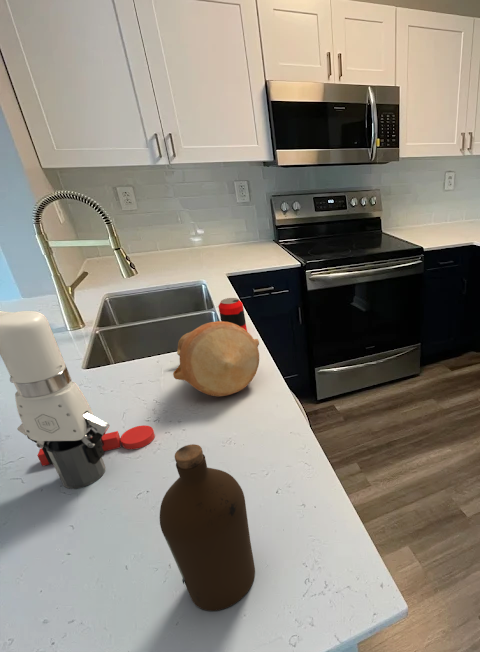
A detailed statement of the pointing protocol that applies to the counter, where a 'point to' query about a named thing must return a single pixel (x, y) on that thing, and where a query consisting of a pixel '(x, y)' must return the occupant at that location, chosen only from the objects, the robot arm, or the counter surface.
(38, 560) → the counter surface
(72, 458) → the mug
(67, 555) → the counter surface
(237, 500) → the olive oil
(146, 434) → the spoon
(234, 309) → the soda can
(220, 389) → the jug
